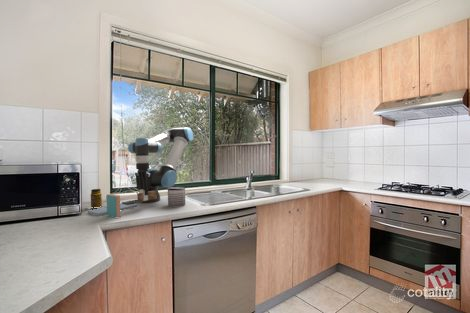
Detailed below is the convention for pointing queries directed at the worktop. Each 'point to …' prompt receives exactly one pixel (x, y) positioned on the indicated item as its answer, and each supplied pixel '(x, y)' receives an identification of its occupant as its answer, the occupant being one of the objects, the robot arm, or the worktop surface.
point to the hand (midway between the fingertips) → (143, 200)
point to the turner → (140, 198)
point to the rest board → (104, 209)
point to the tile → (113, 205)
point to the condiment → (96, 198)
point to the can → (176, 196)
